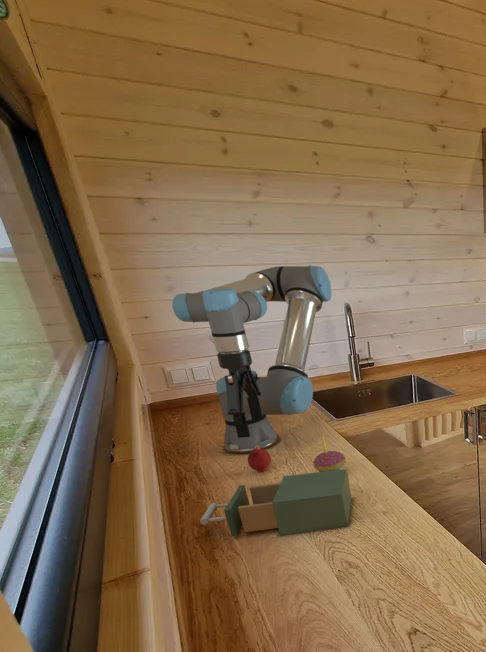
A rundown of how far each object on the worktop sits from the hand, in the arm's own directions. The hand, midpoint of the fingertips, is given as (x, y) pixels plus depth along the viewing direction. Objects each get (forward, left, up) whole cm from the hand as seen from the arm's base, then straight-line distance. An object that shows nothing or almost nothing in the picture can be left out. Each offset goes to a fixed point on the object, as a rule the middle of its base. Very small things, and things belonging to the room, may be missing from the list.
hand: (251, 427), depth 134 cm
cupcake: (+8, +20, -14) cm, 26 cm away
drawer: (+29, +5, -13) cm, 32 cm away
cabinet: (+29, +19, -14) cm, 37 cm away
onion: (0, 0, -14) cm, 14 cm away
